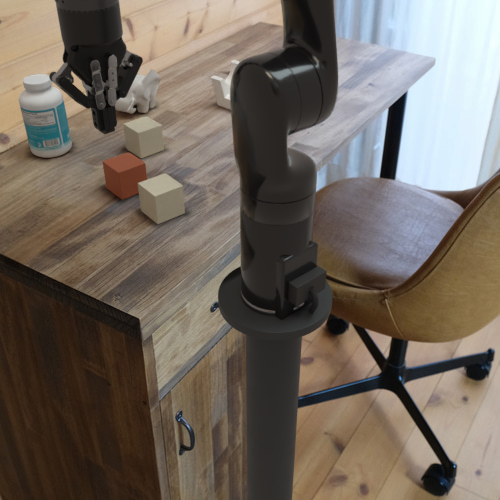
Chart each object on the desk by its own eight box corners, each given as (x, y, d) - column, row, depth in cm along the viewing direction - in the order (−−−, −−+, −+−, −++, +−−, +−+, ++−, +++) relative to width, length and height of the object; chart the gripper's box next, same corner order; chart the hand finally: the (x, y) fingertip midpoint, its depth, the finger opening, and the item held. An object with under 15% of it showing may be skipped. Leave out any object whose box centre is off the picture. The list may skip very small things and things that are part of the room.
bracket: (218, 108, 135) (210, 77, 129) (240, 90, 138) (233, 59, 132) (266, 126, 128) (260, 94, 122) (288, 107, 131) (283, 74, 125)
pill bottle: (54, 137, 122) (40, 67, 114) (81, 147, 119) (68, 76, 111) (21, 152, 117) (5, 80, 109) (49, 163, 114) (34, 90, 106)
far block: (164, 150, 118) (162, 124, 115) (141, 158, 115) (138, 132, 112) (149, 140, 121) (146, 115, 118) (126, 148, 118) (122, 123, 115)
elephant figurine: (98, 118, 129) (92, 74, 124) (130, 96, 138) (125, 55, 133) (140, 125, 126) (135, 82, 121) (169, 102, 135) (166, 61, 130)
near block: (185, 213, 100) (183, 185, 97) (157, 224, 98) (154, 196, 95) (167, 200, 104) (165, 172, 101) (140, 210, 101) (137, 182, 98)
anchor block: (148, 189, 106) (145, 162, 103) (122, 200, 104) (118, 172, 101) (132, 178, 109) (128, 151, 106) (106, 188, 107) (102, 161, 104)
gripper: (52, 16, 72) (77, 155, 83) (150, -5, 80) (162, 126, 90) (22, 3, 77) (49, 136, 87) (117, -16, 84) (132, 109, 94)
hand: (106, 131), depth 88 cm, fingers closed
